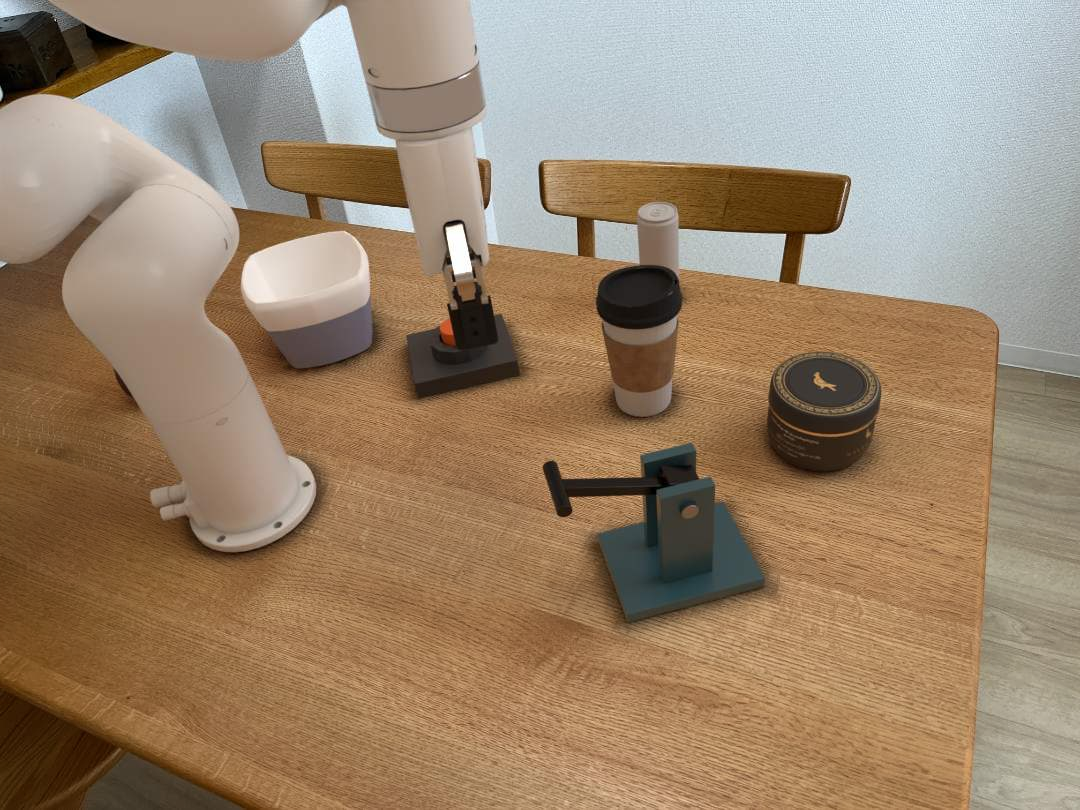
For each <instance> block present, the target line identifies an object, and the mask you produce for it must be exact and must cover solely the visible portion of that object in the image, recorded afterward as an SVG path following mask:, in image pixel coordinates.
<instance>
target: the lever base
mask: <svg viewBox="0 0 1080 810" xmlns="http://www.w3.org/2000/svg"><path fill="white" fill-rule="evenodd" d="M639 456H640V474H641V476H640V477H657V474H658V471H659V469H660V466H665V465H692V466H693V468H694V469H695V471H696V472H697V449H696V446H695V445H694V443H693V442H689V443H685V444H680V445H676V446H672V447H667V448H664V449H660V450H656V451H652V452H648V453H644V454H641V455H639ZM641 496H642V512H643V521H642V522H638V523H634V524H630V525H626V526H622V527H618V528H614V529H611V530H606V531H603V532H599V533H597V541H598V545H599V547H600V550H601V553H602V556H603V558H604V561H605V564H606V567H607V570H608V572H609V576H610V578H611V581H612V584H613V587H614V589H615V592H616V594H617V597H618V600H619V603H620V607H621V609H622V612H623V614H624V617H625V619H626V623H628V624H629V623H633V622H636V621H640V620H644V619H647V618H653V617H655V616H659V615H664V614H667V613H670V612H674V611H678V610H681V609H686V608H690V607H693V606H697V605H701V604H704V603H708V602H711V601H716V600H720V599H724V598H727V597H731V596H736V595H738V594H743V593H746V592H747V593H748V592H750V591H755V590H757V589H762V588H765V583H766V577H765V576H764V574H763V572H762V570H761V568H760V566H759V564H758V562H757V561H756V559H755V557H754V555H753V553H752V551H751V549H750V548H749V546H748V544H747V542H746V541H745V539H744V537H743V535H742V533H741V531H740V529H739V528H738V526H737V523H736V522H735V520H734V519H733V517H732V514H731V513H730V511H729V509H728V507H727V505H726V504H725V502H724V501H721V502H717V503H716V484H715V482H714V479H713V478H712V476H707V477H702V478H699V479H698V480H694V481H690V482H686V483H682V484H678V485H674V486H670V487H666V488H662V489H658V490H656V495H641Z"/></svg>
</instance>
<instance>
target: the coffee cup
mask: <svg viewBox="0 0 1080 810" xmlns="http://www.w3.org/2000/svg"><path fill="white" fill-rule="evenodd" d="M680 285H681V284H680V278H679V279H678V277H677V275H676V274H675V272H674V271H673V270H671V269H669V268H667V267H664V266H658V265H640V264H639V265H632V266H625V267H621V268H619V269H616V270H614V271H611V272H610V273H608V274H607V275H605V276H604V277H603V278H602V279H601V280H600V281H599V283H598V285H597V295H596V298H595V305H596V312H597V314H598V316H599V317H600V319H601V320H602V321H601V331H602V335H603V336H602V337H603V342H604V345H605V350H606V351H605V352H606V355H607V360H608V361H607V362H608V366H609V369H610V374H611V379H612V384H613V390H614V396H615V400H616V405H617V406H618V408H619V409H620V410H621V411H622V412H624V413H625V414H627V415H630V416H633V417H638V418H639V417H641V418H644V417H645V418H646V417H652V416H655V415H659V414H660V413H662V412H663V411H665V410H666V409H667V408H668V407H669V405H670V403H671V399H672V393H673V380H674V379H673V378H674V373H675V372H674V371H675V364H676V363H675V362H676V354H677V344H678V334H679V324H680V321H679V317H678V315H679V313H680V311H681V309H682V307H683V293H682V291H681V287H680Z"/></svg>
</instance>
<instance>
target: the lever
mask: <svg viewBox="0 0 1080 810" xmlns="http://www.w3.org/2000/svg"><path fill="white" fill-rule="evenodd" d="M541 468H542V471H543V475H544V478H545V481H546V484H547V487H548V490H549V493H550V496H551V500H552V502H553V507H554V509H555V513H556V515H557V516H558V517H560V518H566V517H569V516H571V515H572V514H573V510H574V509H573V505H572V503H571V501H570V498H593V497H594V498H596V497H597V498H598V497H627V496H629V497H631V496H642V495H656V490H658V489H662V488H666V487H670V486H674V485H678V484H682V483H686V482H690V481H694V480H698V479H700V477H699V475H698V473H697V470H696V471H695V469H694V468H693V466H692V465H665V466H660V469H659V471H658V474H657V477H641V476H638V477H636V476H634V477H633V476H632V477H631V476H630V477H593V478H592V477H591V478H590V477H589V478H587V477H586V478H585V477H584V478H563V477H562V473H561V471H560V467H559V466H558V462H556V461H555V460H548V461H546V462H544V463H543V464H542V467H541Z"/></svg>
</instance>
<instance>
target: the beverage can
mask: <svg viewBox="0 0 1080 810" xmlns="http://www.w3.org/2000/svg"><path fill="white" fill-rule="evenodd" d="M636 227H637V244H638V245H637V246H638V256H639V257H638V260H639V261H638V262H639V265H658V266H664V267H667V268H669V269H671V270H673V271H674V272H675V274H676V275H677V277H678V279H679V280H680V252H679V251H680V247H679V246H680V245H679V243H680V241H679V240H680V239H679V237H680V236H679V235H680V234H679V229H680V228H679V213H678V208H677V206H676V205H674V204H672V203H670V202H666V201H653V202H649V203H646V204H644V205H642V206H640V207H639V209H638V211H637V217H636Z"/></svg>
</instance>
